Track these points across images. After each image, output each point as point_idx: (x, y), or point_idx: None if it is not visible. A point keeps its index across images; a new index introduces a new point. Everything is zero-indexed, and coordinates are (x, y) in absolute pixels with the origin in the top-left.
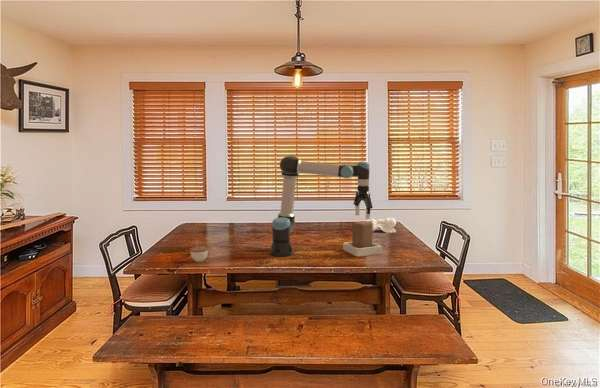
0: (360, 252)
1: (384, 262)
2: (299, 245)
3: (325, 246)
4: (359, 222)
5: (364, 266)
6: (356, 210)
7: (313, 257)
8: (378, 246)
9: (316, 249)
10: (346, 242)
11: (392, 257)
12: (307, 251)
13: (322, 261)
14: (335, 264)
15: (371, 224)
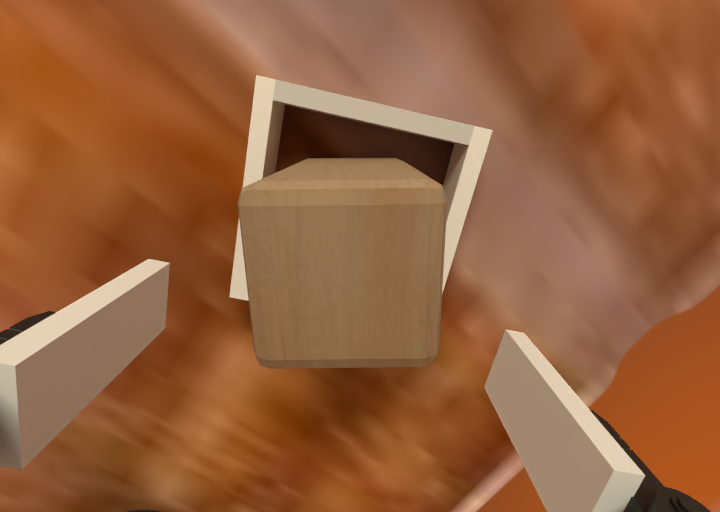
0: None
1: (608, 268)
2: None
3: None
4: (307, 309)
5: None
6: (109, 372)
7: (293, 483)
8: (475, 160)
9: (157, 392)
10: (235, 274)
11: (582, 143)
12: (174, 448)
13: (376, 488)
14: (452, 472)
15: (446, 213)
